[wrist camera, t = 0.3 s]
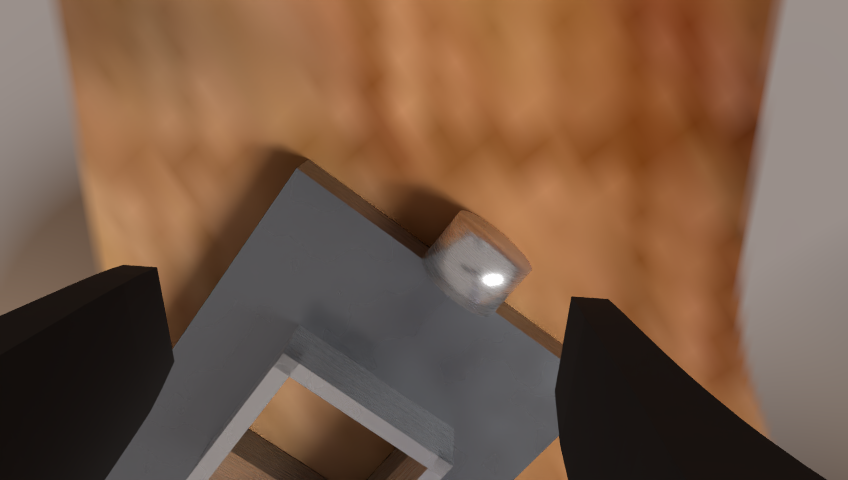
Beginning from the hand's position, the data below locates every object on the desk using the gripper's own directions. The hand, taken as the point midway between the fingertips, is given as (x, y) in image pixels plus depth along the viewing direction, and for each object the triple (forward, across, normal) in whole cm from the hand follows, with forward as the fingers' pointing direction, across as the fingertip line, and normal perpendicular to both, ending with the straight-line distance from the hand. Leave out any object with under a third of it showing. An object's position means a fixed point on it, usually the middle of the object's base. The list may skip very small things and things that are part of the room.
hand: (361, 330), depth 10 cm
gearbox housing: (+9, +3, +11) cm, 14 cm away
